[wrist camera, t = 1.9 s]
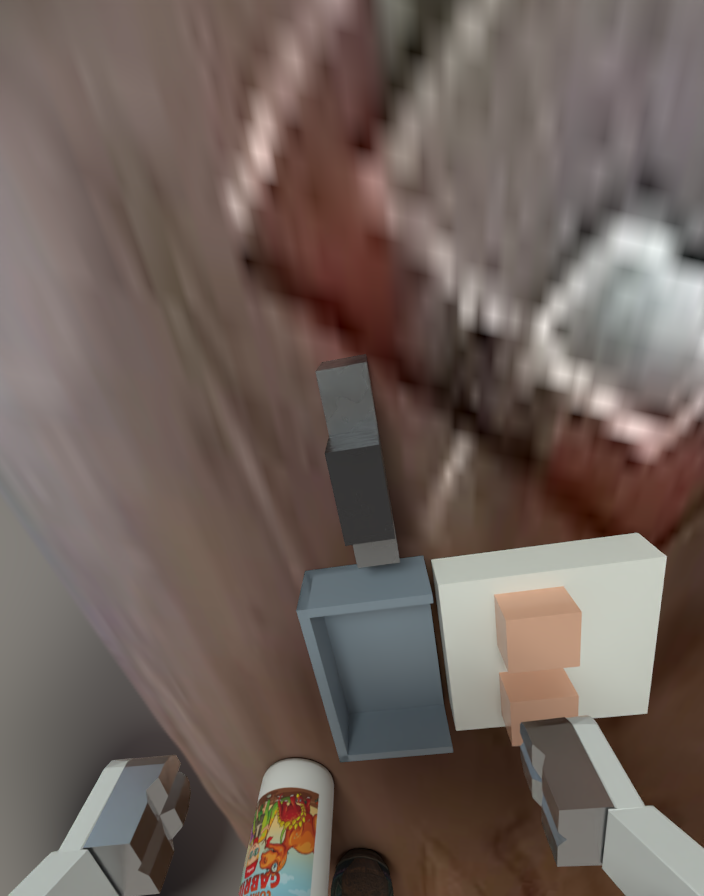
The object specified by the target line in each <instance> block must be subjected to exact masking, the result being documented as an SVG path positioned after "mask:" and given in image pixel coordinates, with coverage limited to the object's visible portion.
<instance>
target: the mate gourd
mask: <svg viewBox="0 0 704 896" xmlns="http://www.w3.org/2000/svg"><path fill="white" fill-rule="evenodd" d="M331 896H393V888H392V882H391V879H390V873H389V869H388V867H387V865H386V863H385V862H384V861H383V859H382V858H381V857H380V856H379V854H377V853H376V852H374V851H372V850H368V849H353V850H350V851H349V852H347V853H346V855H345V856H344V857H343V858H342V859H341V860H340V861H339V863H338V864H337V866H336V872H335V874H334V877H333V881H332V886H331Z"/></svg>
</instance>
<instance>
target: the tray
mask: <svg viewBox="0 0 704 896" xmlns="http://www.w3.org/2000/svg"><path fill="white" fill-rule="evenodd" d="M430 603H433V596H432V591H431V587H430V583H429V578H428V574H427V570H426V566H425V562H424V558H423V556H416V557H408V558H401V559H400V563H392V564H385V565H377V566H370V567H363V568H358V567H357V564H355V565H347V566H340V567H332V568H325V569H317V570H309V571H305V574H304V578H303V583H302V587H301V592H300V597H299V601H298V606H297V610H296V611H297V614H298V618H299V621H300V625H301V628H302V632H303V635H304V639H305V642H306V646H307V649H308V652H309V656H310V659H311V663H312V666H313V670H314V673H315V677H316V680H317V683H318V687H319V690H320V694H321V697H322V701H323V704H324V708H325V711H326V715H327V718H328V721H329V725H330V728H331V732H332V735H333V739H334V742H335V746H336V749H337V752H338V756H339V759H340V762H349V761H361V760H372V759H384V758H396V757H407V756H419V755H431V754H442V753H453V747H452V742H451V737H450V732H449V727H448V722H447V717H446V712H445V707H444V701H443V694H442V687H441V679H440V672H439V665H438V657H437V650H436V643H435V635H434V628H433V621H432V613H431V606H430Z"/></svg>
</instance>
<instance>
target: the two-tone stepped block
mask: <svg viewBox="0 0 704 896" xmlns="http://www.w3.org/2000/svg"><path fill="white" fill-rule="evenodd" d="M316 376H317V381H318V385H319V390H320V395H321V399H322V404H323V409H324V413H325V418H326V423H327V427H328V432H329V439H328V443H327V447H326V451H325V457H326V461H327V465H328V470H329V474H330V479H331V483H332V488H333V492H334V497H335V501H336V506H337V510H338V515H339V519H340V524H341V528H342V533H343V537H344V542H345V546H347V545H353V548H354V553H355V558H356V562H357V567H358V568H363V567H370V566H377V565H385V564H392V563H400V559H399V552H398V545H397V538H396V531H395V525H394V519H393V513H392V507H391V501H390V495H389V489H388V483H387V477H386V471H385V465H384V459H383V454H382V448H381V442H380V436H379V430H378V424H377V418H376V412H375V406H374V400H373V394H372V388H371V382H370V376H369V370H368V364H367V358H366V354H364V355H359V356H353V357H348V358H343V359H337V360H332V361H326V362H322V363H321V364H320V366H319V367H318V369H317V370H316Z"/></svg>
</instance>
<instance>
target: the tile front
mask: <svg viewBox="0 0 704 896" xmlns="http://www.w3.org/2000/svg"><path fill="white" fill-rule="evenodd" d="M494 603H495V619H496V634H497V646H498V648H499V651H500V653H501V656H502V658H503V661H504V664H505V666H506V669H507V671H508V674H510V673H520V672H530V671H539V670H549V669H559V668H569V667H578V666H580V650H581V622H582V611H581V610H580V609H579V607H578V606H577V604H576V603H575V602H574V600H573V599H572V597H571V596H570V595H569V593H568V592H567V590H566V589H565V588H564V586H561V587H552V588H544V589H536V590H527V591H519V592H511V593H502V594H494Z"/></svg>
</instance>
